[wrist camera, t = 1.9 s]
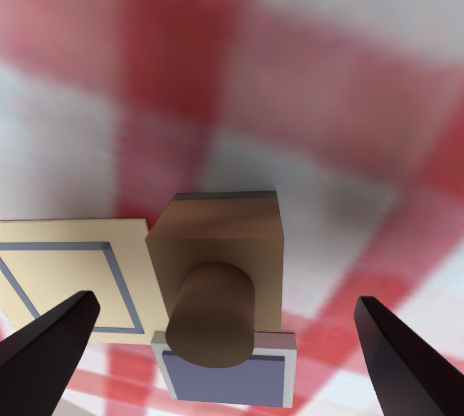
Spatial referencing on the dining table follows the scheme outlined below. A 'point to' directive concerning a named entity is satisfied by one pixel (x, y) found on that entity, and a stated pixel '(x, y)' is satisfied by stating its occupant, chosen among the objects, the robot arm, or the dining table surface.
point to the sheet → (82, 274)
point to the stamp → (219, 273)
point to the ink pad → (234, 374)
